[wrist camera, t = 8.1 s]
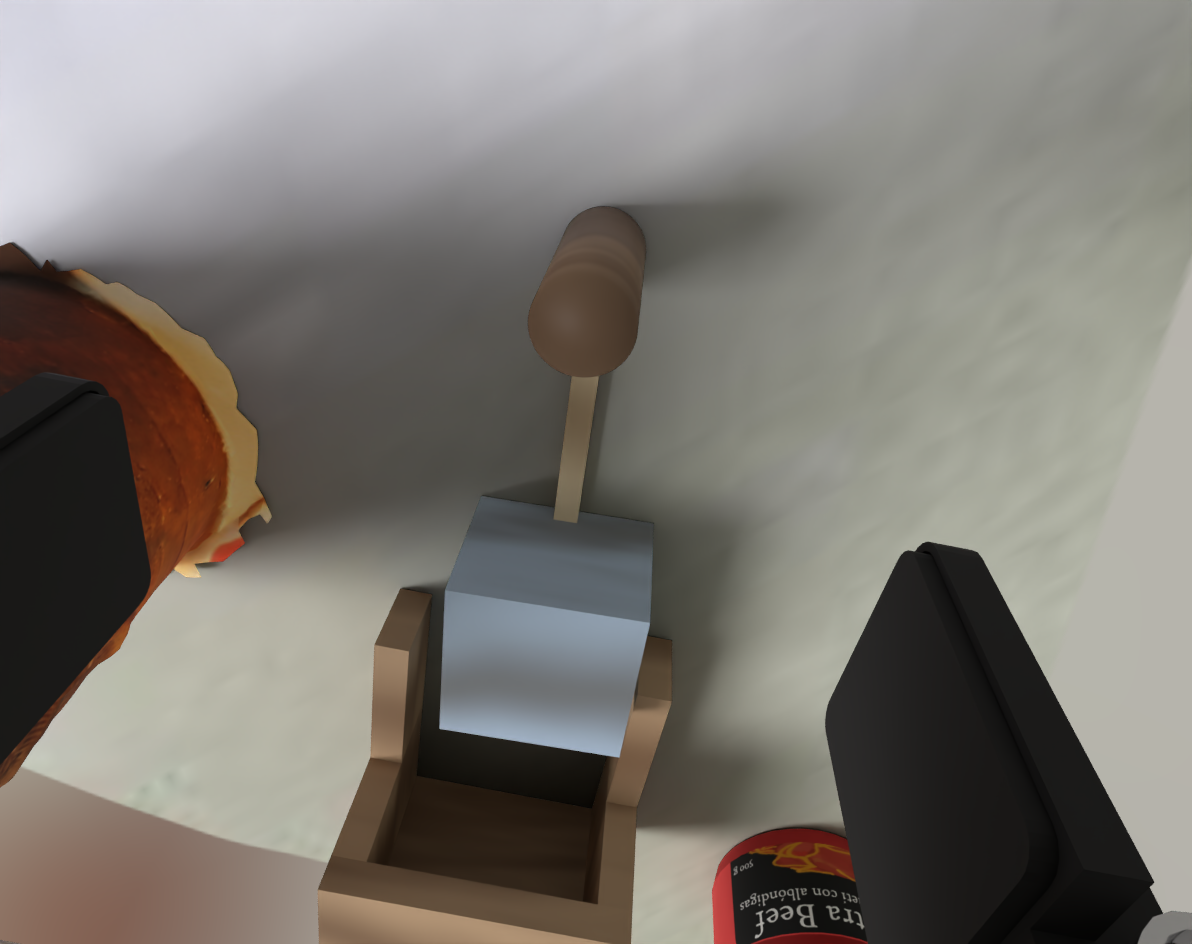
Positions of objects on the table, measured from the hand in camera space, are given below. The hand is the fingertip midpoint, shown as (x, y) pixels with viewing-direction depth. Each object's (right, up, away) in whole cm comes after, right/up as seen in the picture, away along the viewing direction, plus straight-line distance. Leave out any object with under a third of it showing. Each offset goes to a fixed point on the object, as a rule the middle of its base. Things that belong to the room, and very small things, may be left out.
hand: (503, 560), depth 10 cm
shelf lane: (-2, -9, +23) cm, 25 cm away
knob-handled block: (0, +2, +16) cm, 16 cm away
